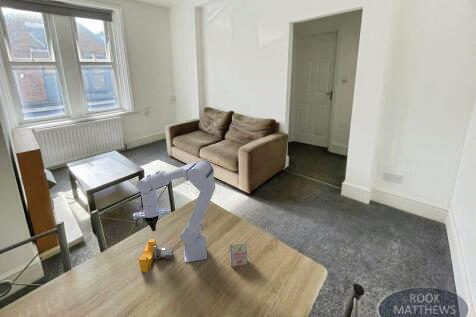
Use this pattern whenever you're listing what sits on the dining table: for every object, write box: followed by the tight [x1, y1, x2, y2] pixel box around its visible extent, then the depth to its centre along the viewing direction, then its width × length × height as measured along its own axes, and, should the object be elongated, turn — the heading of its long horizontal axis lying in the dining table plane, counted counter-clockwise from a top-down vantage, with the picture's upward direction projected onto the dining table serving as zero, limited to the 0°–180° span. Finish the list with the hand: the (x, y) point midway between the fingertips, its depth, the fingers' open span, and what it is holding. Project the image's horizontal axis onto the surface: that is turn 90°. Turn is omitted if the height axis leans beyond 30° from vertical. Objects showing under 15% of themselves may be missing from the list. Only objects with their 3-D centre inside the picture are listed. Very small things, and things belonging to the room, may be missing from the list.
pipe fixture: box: [153, 244, 173, 262], centre depth 102 cm, size 7×6×6 cm
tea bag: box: [229, 242, 248, 268], centre depth 99 cm, size 4×7×10 cm, turn 100°
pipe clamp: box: [138, 238, 157, 273], centre depth 100 cm, size 12×4×6 cm, turn 0°
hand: (154, 229), depth 105 cm, fingers closed
